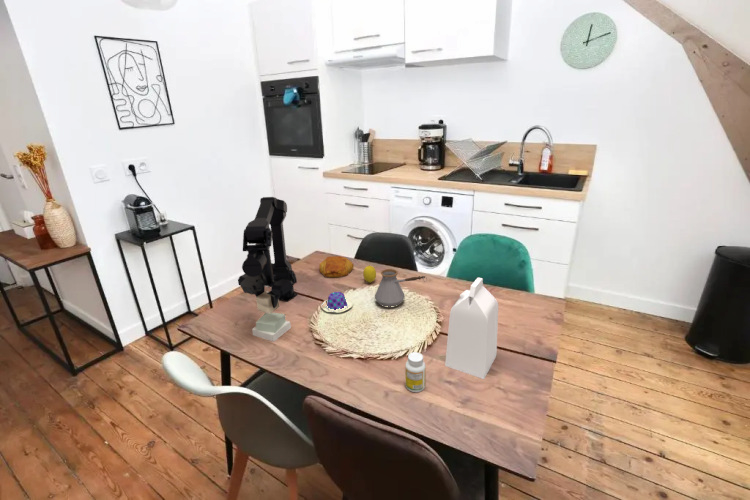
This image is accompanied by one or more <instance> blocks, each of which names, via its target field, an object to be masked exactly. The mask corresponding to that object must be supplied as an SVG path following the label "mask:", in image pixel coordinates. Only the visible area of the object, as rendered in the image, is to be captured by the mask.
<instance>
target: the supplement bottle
mask: <svg viewBox="0 0 750 500" xmlns="http://www.w3.org/2000/svg"><path fill="white" fill-rule="evenodd" d="M407 356H408V357H407V361H406V362H405V374H404V375H405V376H404V377H405V387H406V389H407V390H409V392H413V393H420V392H422V391H423V390H425V387H426V369H427V368H426V363H425V361H424V355H423V354H422V353H420V352H416V351H413V352H410V353H409V354H408V355H407Z"/></svg>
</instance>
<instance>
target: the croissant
mask: <svg viewBox="0 0 750 500" xmlns="http://www.w3.org/2000/svg"><path fill="white" fill-rule="evenodd" d="M354 266H355V265H354V263H353V262H352V261H351V260H350V259H349V258H347V257H345V256H342V255H336V256H335V255H334V256H327V257H326V258H324V260H323V261H321V262H319V265H318V269H319V272H320V274H323V276H324V278H331V279H333V278H334V279H335V278H336V279H338V278H342V277H347V276H349V274H350V273H351V272H352V270H353V268H354Z"/></svg>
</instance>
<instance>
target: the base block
mask: <svg viewBox="0 0 750 500" xmlns="http://www.w3.org/2000/svg"><path fill="white" fill-rule="evenodd" d="M291 324H292V323H291V321H289V320H286V322H285V323H284V324H283V325H282V326H281V328H280V329H279V330H278V331H277V332H276V333H273V332H266V331H259V330H257V328H256V326H254V327H253V328H251V331H252V336H254V337H258V338H261V339H264V340H267V341H270V342H276V341H277V340H278V339H279V338H280V337H281V336H283V335H284V334H285V333H286V332H288V331H289V330H290V329H291V328H292V326H291Z"/></svg>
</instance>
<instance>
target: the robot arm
mask: <svg viewBox="0 0 750 500" xmlns="http://www.w3.org/2000/svg"><path fill="white" fill-rule="evenodd" d="M259 201H260V202H259V203H260V204H259V206H258V210H257V211H256V214H255V217H254V219H253V220H251V221H249V222H248V223H247V224H246V226H245V228H244V230H243V235H242V237H243V238H242V252H247V255H246V258H245V260H244V261H243V263H242V266H241V269H242V272H243V274H242V275H240V276H239V277H238V279H237V283H238V285H239V286H240V287H241V289H242V291H243V293H245V294H250V295H255V298H256V297H257V296H259V295H260V294H262V293H264V292H265V291H266V290H265V287H266V288H267V287H268V288H271V289H270V291H269V292H268V293H267V294H269V295H270V296H271V301H272V305H273V308H275V307H276V306H277V303H278V301H279V302H280V300H281V301H284V302H289V301H290V300H292V299H294V297H296V296H298V293H296V292H295V289H294V285H296V284H298V281H297V280H298V279H297V274H296V273H295V271H294V270H293V266H292V264H291V263H290V261H289V260H288V259H287V251H286V240H285V233H284V221H285V219H286V217H287V213H288V204H287V202H286V201H285V200H284V199H283V200H282V199H278V198H277V197H275V196H263V197H261V198H260V200H259ZM271 247H272V248H273V249H272V250H273V251H272V252H273V259H274V263H272V258H271V252H270V249H271Z"/></svg>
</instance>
